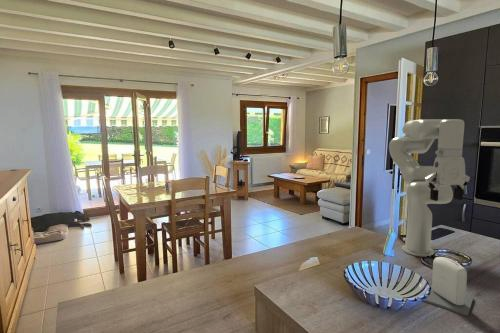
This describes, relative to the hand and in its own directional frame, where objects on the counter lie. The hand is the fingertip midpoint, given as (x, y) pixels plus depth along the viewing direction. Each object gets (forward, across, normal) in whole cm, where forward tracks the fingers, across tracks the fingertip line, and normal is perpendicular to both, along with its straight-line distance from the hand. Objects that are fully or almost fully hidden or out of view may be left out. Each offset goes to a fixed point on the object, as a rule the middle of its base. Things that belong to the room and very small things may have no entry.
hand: (445, 199), depth 111 cm
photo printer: (+27, -12, -18) cm, 35 cm away
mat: (+28, -12, -18) cm, 35 cm away
